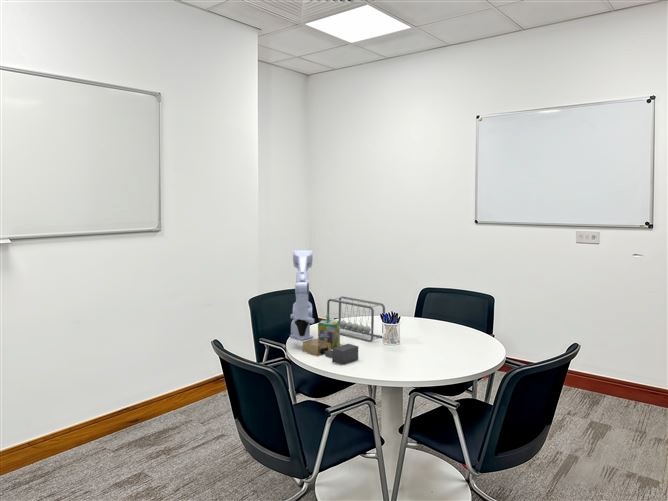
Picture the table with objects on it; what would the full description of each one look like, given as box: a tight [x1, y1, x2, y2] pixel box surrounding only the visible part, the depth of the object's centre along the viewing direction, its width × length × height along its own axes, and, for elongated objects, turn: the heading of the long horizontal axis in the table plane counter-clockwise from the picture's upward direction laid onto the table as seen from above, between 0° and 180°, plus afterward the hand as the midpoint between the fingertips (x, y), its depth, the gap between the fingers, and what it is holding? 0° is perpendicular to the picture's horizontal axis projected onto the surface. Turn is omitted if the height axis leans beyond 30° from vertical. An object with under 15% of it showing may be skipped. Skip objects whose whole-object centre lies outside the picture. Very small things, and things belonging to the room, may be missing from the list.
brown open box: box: [302, 338, 332, 357], centre depth 233 cm, size 10×8×4 cm
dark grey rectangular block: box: [324, 343, 359, 366], centre depth 223 cm, size 14×10×6 cm
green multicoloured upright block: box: [317, 313, 341, 349], centre depth 243 cm, size 9×9×15 cm
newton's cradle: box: [326, 295, 386, 343], centre depth 261 cm, size 30×10×18 cm, turn 49°
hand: (302, 335), depth 240 cm, fingers closed
